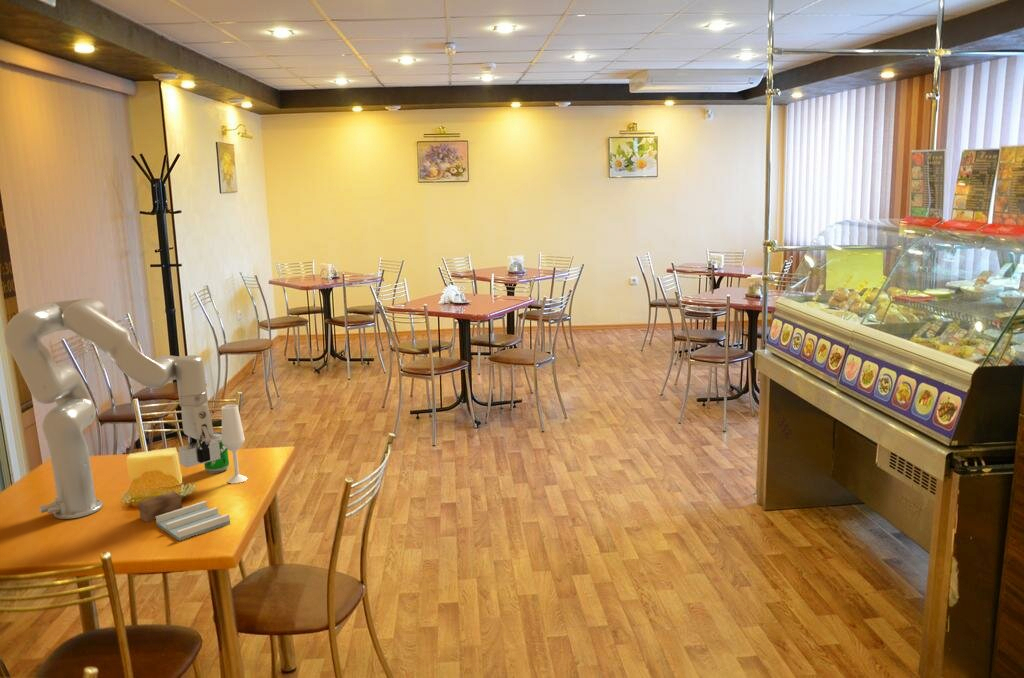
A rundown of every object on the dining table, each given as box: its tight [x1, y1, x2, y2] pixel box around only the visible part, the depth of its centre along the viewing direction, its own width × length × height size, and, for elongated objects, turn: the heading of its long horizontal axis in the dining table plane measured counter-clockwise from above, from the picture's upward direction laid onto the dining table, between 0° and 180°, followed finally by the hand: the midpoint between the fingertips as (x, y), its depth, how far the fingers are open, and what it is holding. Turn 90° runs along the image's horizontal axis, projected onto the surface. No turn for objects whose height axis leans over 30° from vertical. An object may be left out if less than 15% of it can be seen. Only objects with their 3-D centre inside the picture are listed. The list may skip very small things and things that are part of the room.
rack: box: [155, 500, 231, 542], centre depth 218 cm, size 14×15×3 cm
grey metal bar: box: [177, 439, 221, 468], centre depth 231 cm, size 10×5×5 cm, turn 132°
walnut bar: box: [137, 491, 183, 523], centre depth 225 cm, size 10×5×5 cm, turn 135°
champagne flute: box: [221, 404, 249, 483], centre depth 247 cm, size 7×7×24 cm
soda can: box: [201, 431, 230, 474], centre depth 258 cm, size 8×8×12 cm
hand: (200, 458), depth 231 cm, fingers closed on grey metal bar, 4 cm apart
